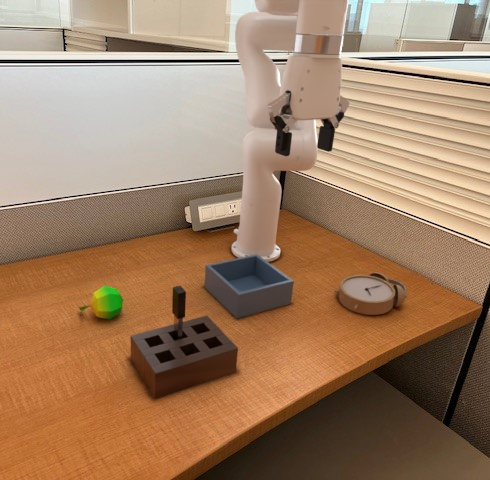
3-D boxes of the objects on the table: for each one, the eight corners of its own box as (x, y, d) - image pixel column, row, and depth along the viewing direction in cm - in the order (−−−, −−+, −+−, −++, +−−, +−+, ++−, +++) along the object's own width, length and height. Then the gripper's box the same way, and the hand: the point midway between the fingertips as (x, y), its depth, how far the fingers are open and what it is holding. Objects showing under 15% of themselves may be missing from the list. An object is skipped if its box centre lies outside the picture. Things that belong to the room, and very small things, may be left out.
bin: (204, 287, 107) (205, 264, 105) (254, 275, 113) (256, 253, 111) (236, 318, 96) (238, 294, 94) (290, 303, 102) (294, 280, 100)
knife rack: (130, 359, 84) (130, 335, 81) (205, 337, 90) (207, 315, 88) (154, 398, 75) (155, 373, 73) (235, 371, 82) (238, 348, 80)
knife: (170, 355, 85) (172, 287, 79) (178, 353, 86) (180, 285, 80) (176, 362, 83) (178, 293, 77) (183, 360, 84) (186, 291, 78)
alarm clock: (328, 281, 106) (385, 262, 109) (328, 299, 108) (383, 280, 111) (360, 308, 96) (421, 286, 100) (359, 327, 98) (419, 305, 102)
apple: (122, 278, 94) (77, 287, 90) (131, 309, 92) (84, 319, 88) (115, 291, 100) (72, 299, 96) (123, 319, 98) (79, 329, 94)
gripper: (339, 47, 84) (324, 144, 91) (260, 45, 76) (251, 151, 83) (373, 49, 78) (354, 152, 85) (291, 47, 70) (278, 161, 77)
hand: (303, 152), depth 84 cm, fingers open, 9 cm apart
